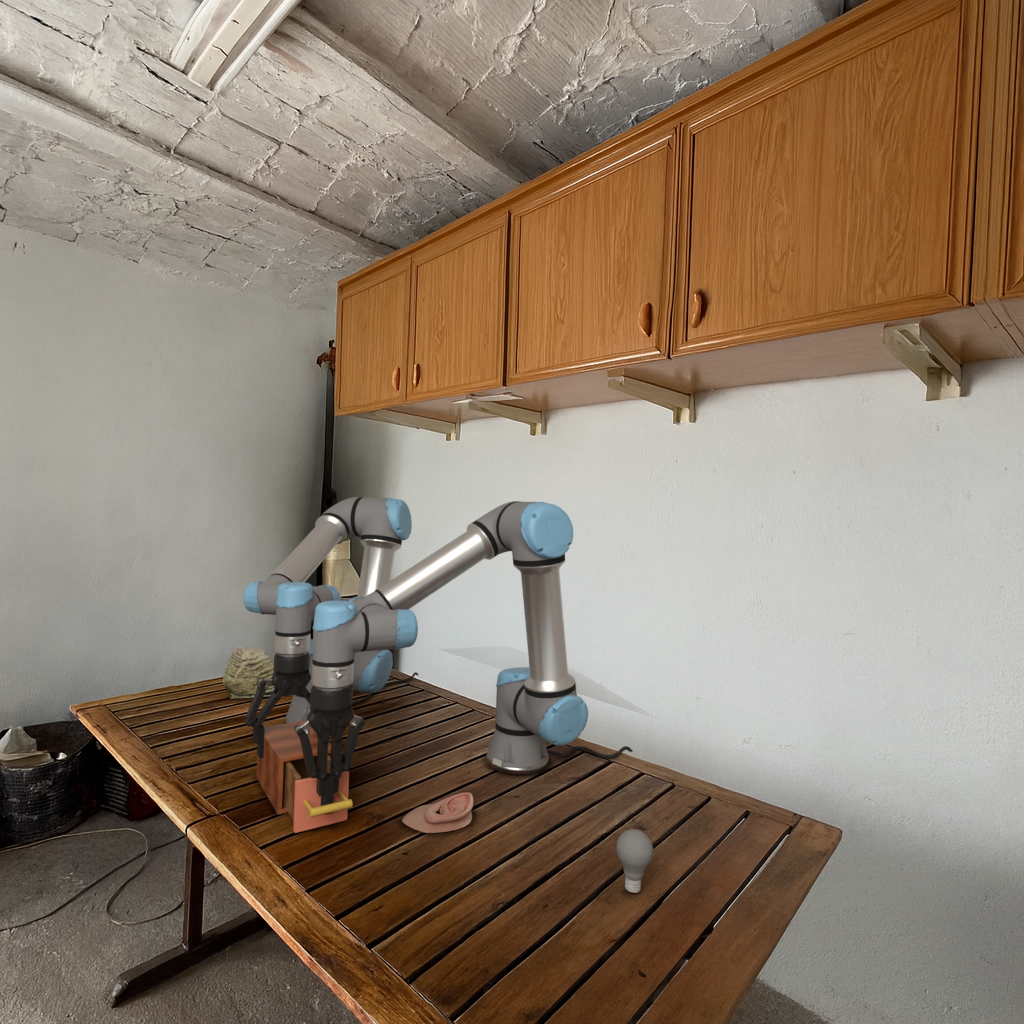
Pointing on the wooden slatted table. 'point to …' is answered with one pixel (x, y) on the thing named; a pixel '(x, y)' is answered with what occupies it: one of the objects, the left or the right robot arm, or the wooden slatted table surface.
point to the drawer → (312, 797)
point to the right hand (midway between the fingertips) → (326, 810)
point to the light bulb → (634, 857)
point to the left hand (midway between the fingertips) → (288, 750)
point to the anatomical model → (442, 814)
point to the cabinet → (281, 758)
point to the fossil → (247, 672)
